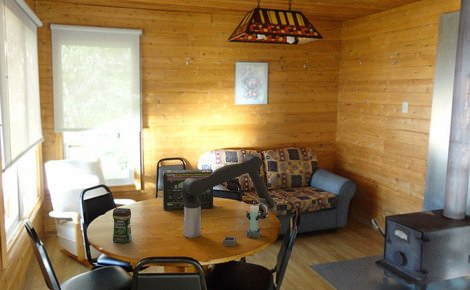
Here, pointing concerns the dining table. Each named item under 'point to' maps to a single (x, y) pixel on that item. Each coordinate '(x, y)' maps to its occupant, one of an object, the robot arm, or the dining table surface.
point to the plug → (254, 217)
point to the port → (253, 234)
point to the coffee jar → (122, 225)
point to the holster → (229, 241)
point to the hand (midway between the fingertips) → (252, 218)
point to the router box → (175, 188)
